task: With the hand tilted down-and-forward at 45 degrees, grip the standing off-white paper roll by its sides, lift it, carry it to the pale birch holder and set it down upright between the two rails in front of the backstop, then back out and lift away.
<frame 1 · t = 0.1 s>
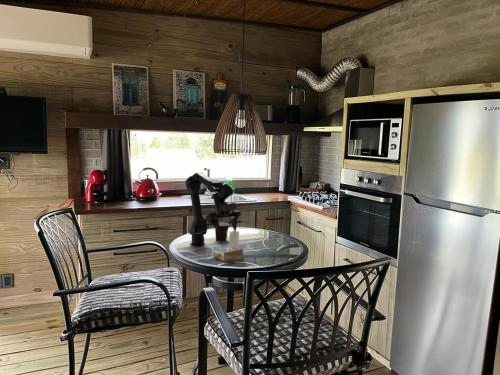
hand: (227, 231, 196), 15 cm above the table, tool tilted 35°, fingers open, 9 cm apart
paper roll: (233, 250, 214), on the table
holder: (227, 257, 202), on the table
coffee mug: (219, 240, 234), on the table
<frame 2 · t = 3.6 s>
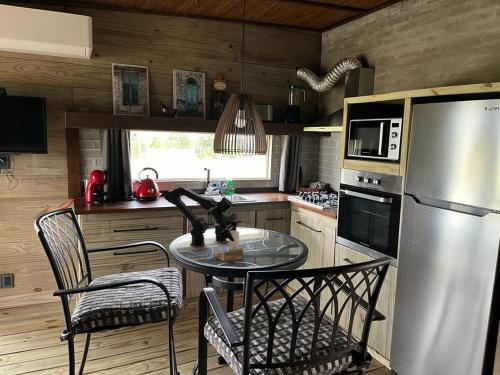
hand: (236, 239, 213), 7 cm above the table, tool tilted 45°, fingers closed on paper roll, 5 cm apart
paper roll: (233, 250, 214), on the table, touching gripper
everything else where it was.
when the fingers open (8 cm above the table, at t = 7.6 s): paper roll drops 1 cm, resting on holder.
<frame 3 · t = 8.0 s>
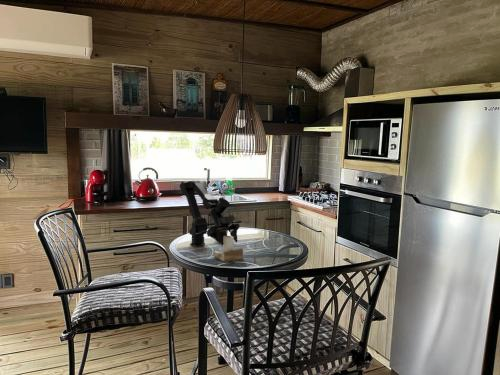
hand: (230, 243, 200), 8 cm above the table, tool tilted 45°, fingers open, 9 cm apart
paper roll: (227, 257, 202), resting on holder
everything else where it was.
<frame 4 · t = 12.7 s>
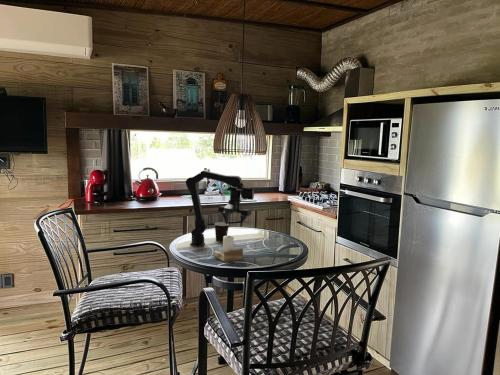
hand: (233, 225, 218), 13 cm above the table, tool pointing down, fingers open, 9 cm apart
nothing on the table moved.
at the end: paper roll 0.1 cm off-centre on the holder, point 0.0 cm above the holder's base; paper roll tilted 0°; the gripper is holding nothing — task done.
